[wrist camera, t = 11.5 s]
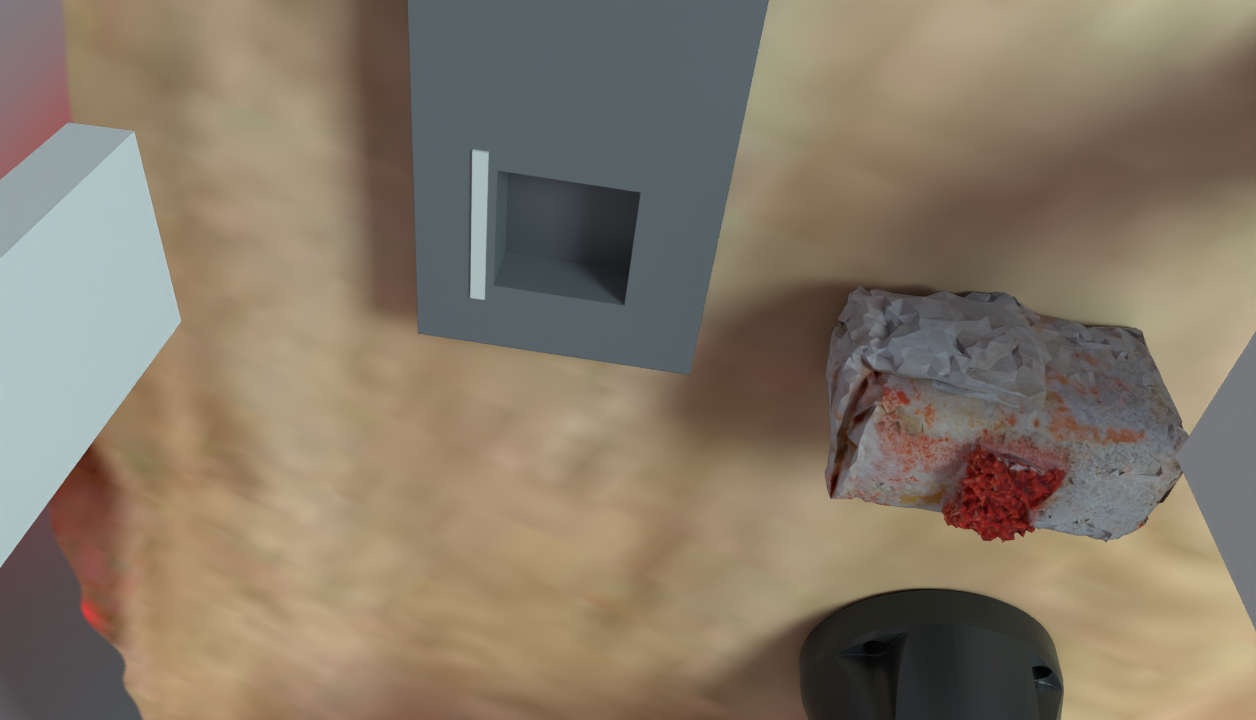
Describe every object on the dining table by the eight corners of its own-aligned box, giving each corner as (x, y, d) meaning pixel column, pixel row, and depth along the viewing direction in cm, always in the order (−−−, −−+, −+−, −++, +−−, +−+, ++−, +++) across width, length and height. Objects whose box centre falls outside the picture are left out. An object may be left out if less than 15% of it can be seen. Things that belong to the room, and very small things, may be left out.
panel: (693, 331, 46) (689, 376, 43) (434, 292, 46) (417, 335, 43) (873, -544, 26) (884, -549, 24) (419, -614, 26) (386, -625, 24)
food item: (801, 388, 48) (809, 552, 40) (840, 251, 42) (858, 411, 35) (1085, 427, 47) (1146, 599, 40) (1160, 295, 42) (1246, 464, 35)
